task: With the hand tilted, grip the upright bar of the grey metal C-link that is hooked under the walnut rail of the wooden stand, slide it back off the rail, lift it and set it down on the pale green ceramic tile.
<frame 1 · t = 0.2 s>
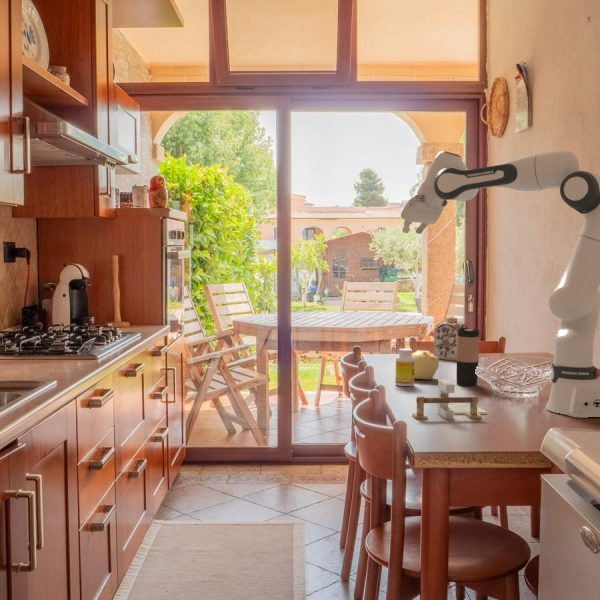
hand: (411, 232, 250), 54 cm above the table, tool tilted 30°, fingers open, 8 cm apart
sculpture: (420, 379, 271), on the table
travel mug: (466, 385, 261), on the table
tile: (465, 410, 220), on the table
c link: (442, 413, 215), on the table
rail stand: (446, 417, 211), on the table
supplement bottle: (404, 385, 258), on the table
decorative jar: (450, 358, 322), on the table
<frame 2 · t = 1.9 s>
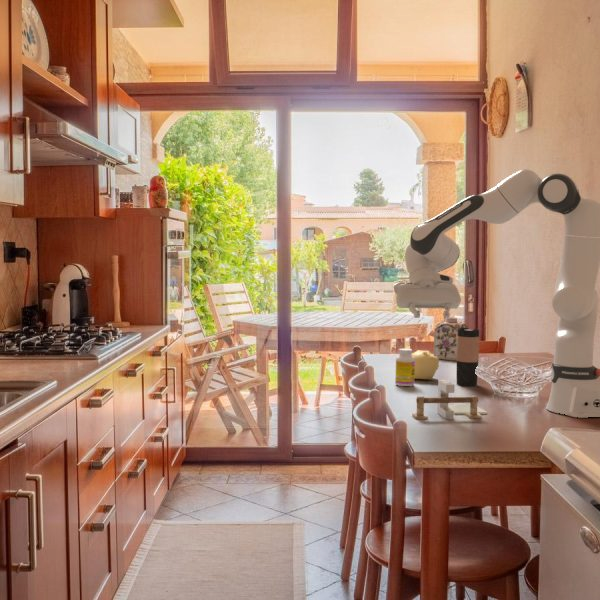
hand: (432, 316, 226), 27 cm above the table, tool tilted 45°, fingers open, 8 cm apart
nothing on the table moved.
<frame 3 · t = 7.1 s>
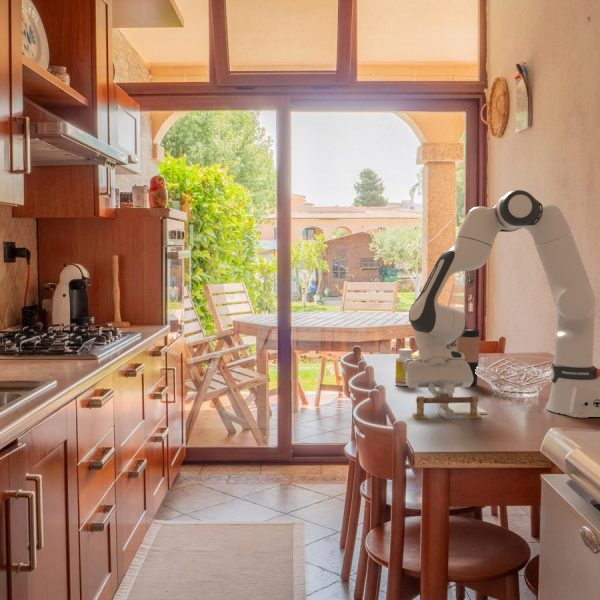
hand: (443, 398, 214), 5 cm above the table, tool tilted 45°, fingers closed on c link, 2 cm apart
c link: (442, 413, 215), on the table, touching gripper
everything else where it was.
when the fingers open (6 cm above the table, at t = 13.7 s): c link stays where it is, resting on tile.
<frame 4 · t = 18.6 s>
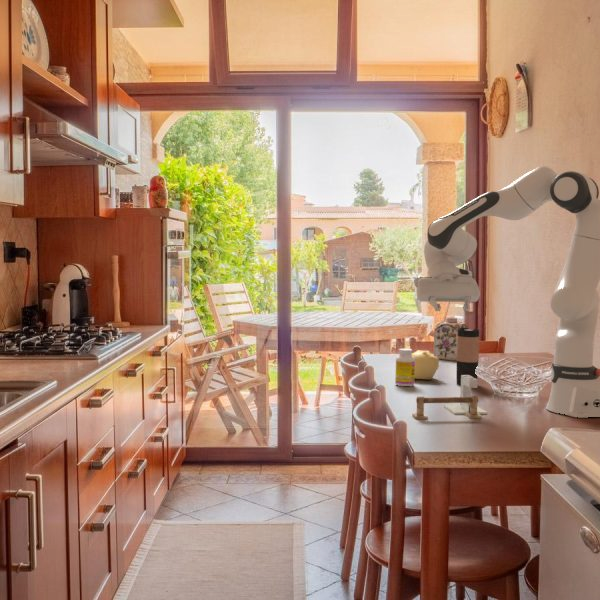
hand: (452, 310, 230), 29 cm above the table, tool tilted 45°, fingers open, 8 cm apart
c link: (465, 408, 220), point 1 cm above the table, touching tile
everything else where it was.
at the end: c link inside the target area on the tile (0.1 cm from its centre), point 0.6 cm above the tile's base; c link tilted 0°; c link touching tile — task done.
